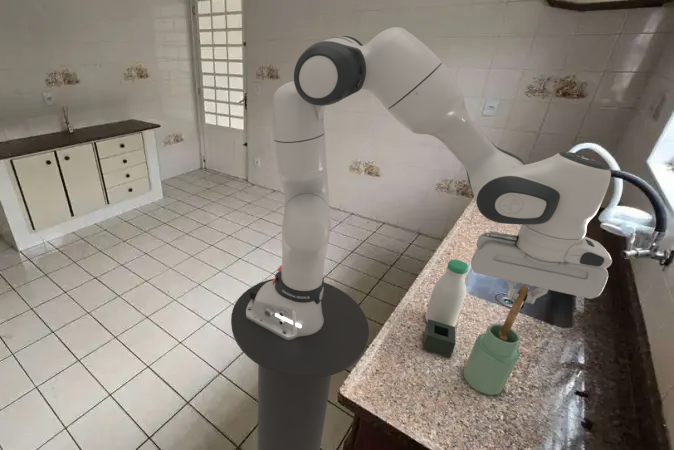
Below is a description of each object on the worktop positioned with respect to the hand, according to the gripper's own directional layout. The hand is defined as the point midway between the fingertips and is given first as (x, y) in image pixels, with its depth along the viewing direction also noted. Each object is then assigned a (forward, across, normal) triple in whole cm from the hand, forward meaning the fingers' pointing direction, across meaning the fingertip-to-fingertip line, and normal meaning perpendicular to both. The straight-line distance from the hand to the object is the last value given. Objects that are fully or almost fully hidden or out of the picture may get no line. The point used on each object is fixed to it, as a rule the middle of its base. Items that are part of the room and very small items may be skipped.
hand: (519, 299), depth 71 cm
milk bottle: (+25, -10, +17) cm, 31 cm away
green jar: (+24, 0, 0) cm, 25 cm away
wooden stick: (+14, 0, 0) cm, 14 cm away
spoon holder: (+24, -10, +7) cm, 27 cm away
